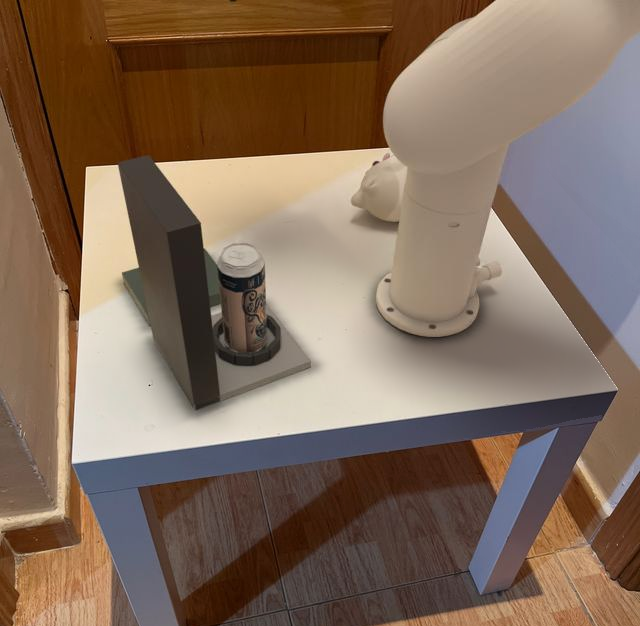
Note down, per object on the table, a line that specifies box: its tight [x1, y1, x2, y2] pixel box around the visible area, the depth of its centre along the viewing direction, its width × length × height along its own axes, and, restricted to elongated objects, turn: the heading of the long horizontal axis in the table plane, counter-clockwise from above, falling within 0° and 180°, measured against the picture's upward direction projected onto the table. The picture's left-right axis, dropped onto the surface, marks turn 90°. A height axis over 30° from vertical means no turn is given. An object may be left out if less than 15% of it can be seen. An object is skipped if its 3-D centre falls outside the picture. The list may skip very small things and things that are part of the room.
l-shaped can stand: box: [117, 154, 312, 412], centre depth 69 cm, size 14×12×22 cm
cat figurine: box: [350, 152, 407, 223], centre depth 94 cm, size 10×8×15 cm
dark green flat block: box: [121, 248, 221, 328], centre depth 83 cm, size 11×9×4 cm
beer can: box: [216, 242, 267, 353], centre depth 73 cm, size 5×5×12 cm
